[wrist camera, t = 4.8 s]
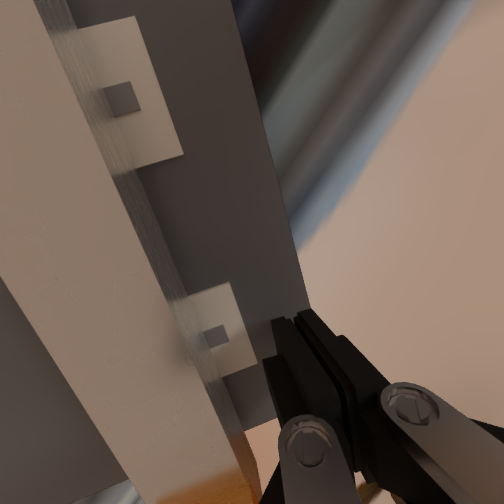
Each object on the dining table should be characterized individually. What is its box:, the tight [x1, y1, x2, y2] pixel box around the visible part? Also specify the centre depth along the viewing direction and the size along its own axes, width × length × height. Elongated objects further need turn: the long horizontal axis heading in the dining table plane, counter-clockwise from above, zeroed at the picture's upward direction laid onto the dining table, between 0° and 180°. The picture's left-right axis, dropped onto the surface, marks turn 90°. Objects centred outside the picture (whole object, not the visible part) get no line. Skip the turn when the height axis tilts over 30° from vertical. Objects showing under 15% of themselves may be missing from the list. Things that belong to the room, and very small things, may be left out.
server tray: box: [0, 0, 311, 504], centre depth 9 cm, size 18×21×2 cm
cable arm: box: [0, 0, 263, 504], centre depth 7 cm, size 22×4×3 cm, turn 17°
